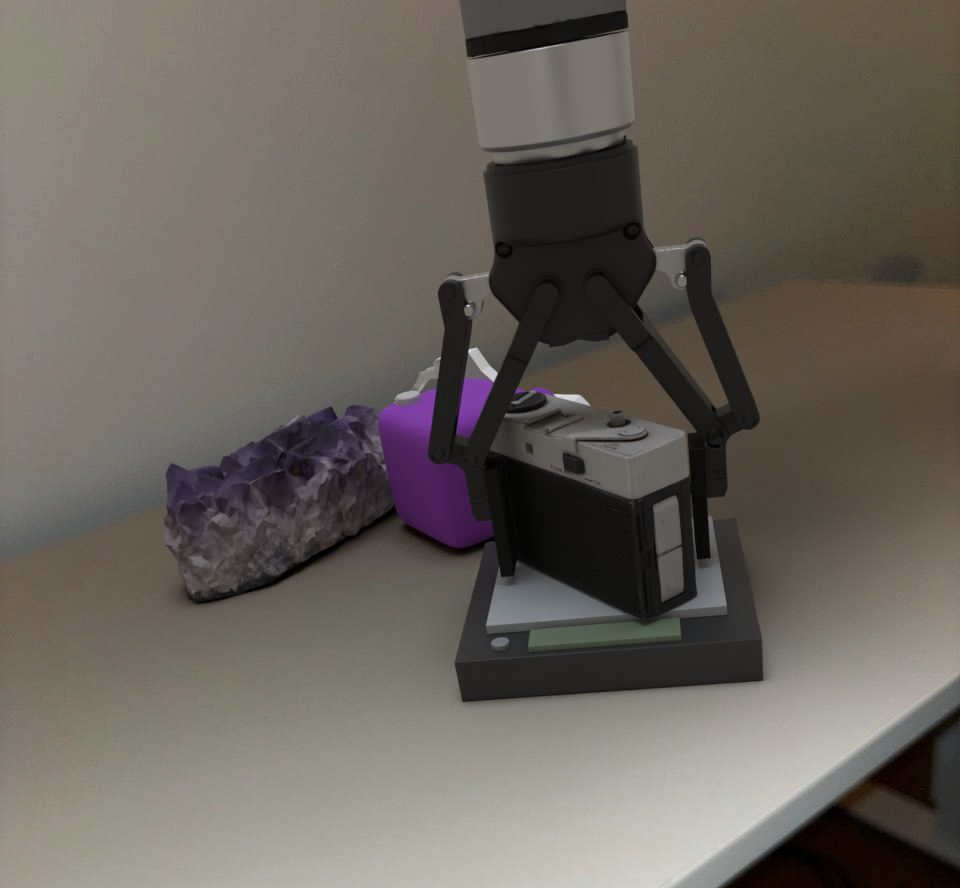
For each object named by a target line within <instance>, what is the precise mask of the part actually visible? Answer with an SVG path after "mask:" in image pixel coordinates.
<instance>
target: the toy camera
mask: <svg viewBox="0 0 960 888" xmlns="http://www.w3.org/2000/svg"><path fill="white" fill-rule="evenodd" d="M493 383H494V382H493V381H489V380H485V379H479V378H468V379H464V385H463V392H462V398H461V405H460V412H459V418H458V425H457V432H456V435H460V436H464V437H469V438H470V436H471V434H472V431H473V429H474V427H475V424H476V422H477V420H478V417H479V415H480V413H481V410H482V408H483V406H484V404H485V401H486V399H487V397H488V394H489V392H490V390H491V387H492V385H493ZM526 391H527V390H525V389H524V390H523V389H521V388H519V387H517V390H516V392H515V393H519V392H526ZM530 391H535V392H540V393H543V394H547V395H551V396H555V395H554V394H555V393H553V392H551V391H550V390H549V389H547V388H545V387H534V388H532V389H530ZM435 396H436V388H433V389H430V390H427V391H424V392H418V391H410V390H409V391H404V392H401V393H399V394H397V395H396V396H395V398H396V400H395V402H396V403H394V402H393V403H391V404H389V405H388V406H386V407H384V408H383V409H381V411H380V412H379V417H378V427H379V434H380V440H381V445H382V449H383V454H384V459H385V463H386V468H387V473H388V477H389V482H390V487H391V491H392V496H393V500H394V504H395V505H394V507H395V511H396V512H397V513H396V514H397V515H398V516H399V518H400V520H401V521H402V522H404V524H406V525H408V526H410V527H412V528H413V529H415V530H417V531H419V532H421V533H423V534H424V535H427V536H428V537H430V538H432V539H434V540H436V541H438V542H440V543H442V544H444V545H446V546H448V547H450V548H455V549H464V548H468V547H472V546H475V545H477V544H480V543H482V542H484V541H486V540H489V539H492V538H494V532H493V526H492V520H489V521H479V522H477V521H476V519H475V518H474V516H473V514H472V510H471V504H470V497H469V493H468V487H467V481H466V476H465V473H464V471H463V470H462V469H461V468H460V467H459V466H457V465H454V464H449V463H443V464H435V463H433V462H432V461H431V460H430V459H429V457H428V447H429V440H430V432H431V425H432V418H433V410H434V403H435ZM555 397H556V396H555Z"/></svg>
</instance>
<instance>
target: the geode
mask: <svg viewBox="0 0 960 888" xmlns="http://www.w3.org/2000/svg"><path fill="white" fill-rule="evenodd" d="M379 414H380V412H379V411H378V410H377V409H376V408H375V407H372V406H369V405H361V404H351V405H349V406H347V407H346V410H345V412H344V416H339V417H338V416H337V413H336V412H335V410H334V408H333V406H328V407H325V408H323V409H321V410H318V411H316V412H314V413H311V414H310V415H308V416H306V415H303V414H300V413H298V414H296V415H295V416H294V417H293V418H292V419H290V420H289V421H288V423H286V425H285V424H281V425H279V426H278V427H276V428H273V429H272V430H271V432H270V433H269V434H268V435H267V436H265V437H263V438H262V439H260V440H258V441H257V442H256V441H249V442H248V443H247V444H246V445H243V446H242V447H239V448H238V449H237V450H236V451H234V452H231V453H230V455H224V456H222V458H221V461H220V463H219V466H217V465H201V466H194V467H191V468H190V469H186V468H184V467H182V466H180V465H178V464H175V463H173V462H170V464H169V465H168V467H167V469H166V471H165V480H166V493H167V497H166V500H165V508H166V511H167V512H166V514H165V515H164V517H163V527H164V546H165V547H167V549H168V550H169V552H170V553H171V554H172V555H173V557H174V558H175V565H174V566H175V569H176V570H177V572H178V573H179V574H180V575H181V578H182V579H183V581H184V583H185V587H186V595H187V596H186V597H187V599H192V600H193V601H194V602H206V601H207V602H208V601H210V600H215V599H219V598H224V597H230V596H239V595H241V594H243V593H245V592H247V591H249V590H253V589H257V588H260V587H262V586H265V585H267V584H269V583H272V582H274V581H275V580H277V579H278V578H279V577H280V576H283V575H284V574H285V573H287V572H288V571H290V570H291V569H293V568H295V567H296V566H298V565H300V564H302V563H304V562H306V561H307V560H308V559H310V558H311V557H313V556H314V555H317V554H320V552H323V551H324V550H327V549H328V548H330V547H332V546H334V545H336V544H339V543H341V542H342V541H343V540H344V539H345V537H347V536H356V535H357V534H358V533H359V532H360V530H361V529H362V528H364V527H367V526H370V525H371V524H372V523H373V522H374V521H375V520H376V519H379V518H380V517H382V516H383V515H385V514H386V513H387V512H389V511H390V510H391V509H392V508H393V507H395V504H394V500H393V496H392V491H391V487H390V482H389V477H388V473H387V468H386V463H385V459H384V454H383V449H382V445H381V440H380V434H379V427H378V417H379Z"/></svg>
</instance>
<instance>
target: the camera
mask: <svg viewBox="0 0 960 888" xmlns="http://www.w3.org/2000/svg"><path fill="white" fill-rule="evenodd" d="M525 391H526V392H519V393H515V394H514V396H513V399H512V401H511V403H510V405H509V408H508V410H507V412H506V414H505V416H504V419H503V421H502V423H501V425H500V428H499V430H498V432H497V434H496V437H495V439H494V441H493V443H492V446H491V448H490V450H489V452H488V457H489V455H498V454H502V458H503V464H504V471H505V477H506V483H507V490H508V496H509V502H510V509H511V515H512V522H513V528H514V534H515V541H516V547H517V554H518V558H517V560H518V561H520V562H523V563H525V564H527V565H529V566H531V567H533V568H535V569H537V570H539V571H541V572H543V573H545V574H548V575H550V576H552V577H554V578H556V579H558V580H560V581H563V582H565V583H567V584H569V585H571V586H573V587H575V588H577V589H579V590H581V591H584V592H586V593H588V594H590V595H592V596H594V597H596V598H598V599H600V600H602V601H604V602H606V603H608V604H610V605H613V606H615V607H617V608H619V609H621V610H623V611H625V612H627V613H629V614H631V615H633V616H635V617H637V618H639V619H642V620H644V621H646V622H647V621H650V620H652V619H654V618H656V617H658V616H660V615H662V614H664V613H666V612H668V611H670V610H671V609H673V608H675V607H677V606H679V605H681V604H683V603H685V602H687V601H689V600H691V599H693V598H695V597H696V596H698V595H697V586H696V572H695V555H694V541H693V527H692V518H693V511H692V495H691V480H690V468H689V455H688V442H687V436H686V435H687V434H686V432H685V430H681V429H679V428H675V427H671V426H667V425H665V424H660V423H656V422H654V421H653V422H652V421H650V420H649V421H648V420H645V419H641V418H637V417H635V416H634V417H633V416H629V415H625V412H624V410H623V409H622V410H621V409H616V410H611V411H610V410H607V409H603V408H600V407H595V406H592V405H590V404H589V405H590V406H589V405H585V404H581V403H577V402H574V401H570V400H566V399H562V398H559V397H555V396H551V395H547V394H543V393H540V392H535V391H531V390H529V391H528V390H525ZM481 411H482V410H481Z"/></svg>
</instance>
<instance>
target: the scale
mask: <svg viewBox="0 0 960 888" xmlns="http://www.w3.org/2000/svg"><path fill="white" fill-rule="evenodd" d="M708 521H709V538H710V555H711V558H710V559H699V560H697V555H696V547H695V540H694V525H693V517H692V527H693V541H694V555H695V572H696V586H697V595H698V596H696V597H695V598H693V599H691V600H689V601H687V602H685V603H683V604H681V605H679V606H677V607H675V608H673V609H671V610H670V611H668V612H666V613H664V614H662V615H660V616H658V617H656V618H654V619H652V620H650V621H647V622H646V621H644V620H642V619H639V618H637V617H635V616H633V615H631V614H629V613H627V612H625V611H623V610H621V609H619V608H617V607H615V606H613V605H610V604H608V603H606V602H604V601H602V600H600V599H598V598H596V597H594V596H592V595H590V594H588V593H586V592H584V591H581V590H579V589H577V588H575V587H573V586H571V585H569V584H567V583H565V582H563V581H560V580H558V579H556V578H554V577H552V576H550V575H548V574H545V573H543V572H541V571H539V570H537V569H535V568H533V567H531V566H529V565H527V564H525V563H523V562H520V561H518V560H517V563H516V568H515V573H514V576H511V577H501V573H500V567H499V561H498V555H497V549H496V544H495V540H494V541H493V540H492V541H486V542H485V544H484V548H483V551H482V554H481V555H482V556H481V559H480V563H479V567H478V571H477V575H476V579H475V582H474V586H473V590H472V594H471V598H470V601H469V604H468V605H469V606H468V609H467V612H466V616H465V619H464V625H463V628H462V632H461V636H460V640H459V643H458V648H457V650H456V651H457V652H456V655H455V658H454V659H455V660H454V667H455V672H456V678H457V683H458V688H459V692H460V697H461V701H462V702H466V701H467V702H468V701H481V700H494V699H495V700H496V699H507V698H522V697H523V698H524V697H537V696H551V695H552V696H553V695H566V694H579V693H580V694H582V693H593V692H594V693H595V692H596V693H597V692H607V691H621V690H623V691H624V690H636V689H647V688H648V689H652V688H653V689H654V688H663V687H664V688H665V687H679V686H681V687H682V686H693V685H708V684H709V685H710V684H721V683H723V684H724V683H737V682H750V681H762V680H764V657H763V655H764V654H763V637H762V632H761V627H760V624H759V623H760V622H759V618H758V614H757V609H756V604H755V600H754V596H753V591H752V587H751V582H750V577H749V573H748V568H747V563H746V559H745V554H744V549H743V544H742V541H741V540H742V539H741V535H740V530H739V526H738V522H737V521H738V520H737V518H736V517H728V518H719V519H718V518H717V519H713V516H712V515H708Z"/></svg>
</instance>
